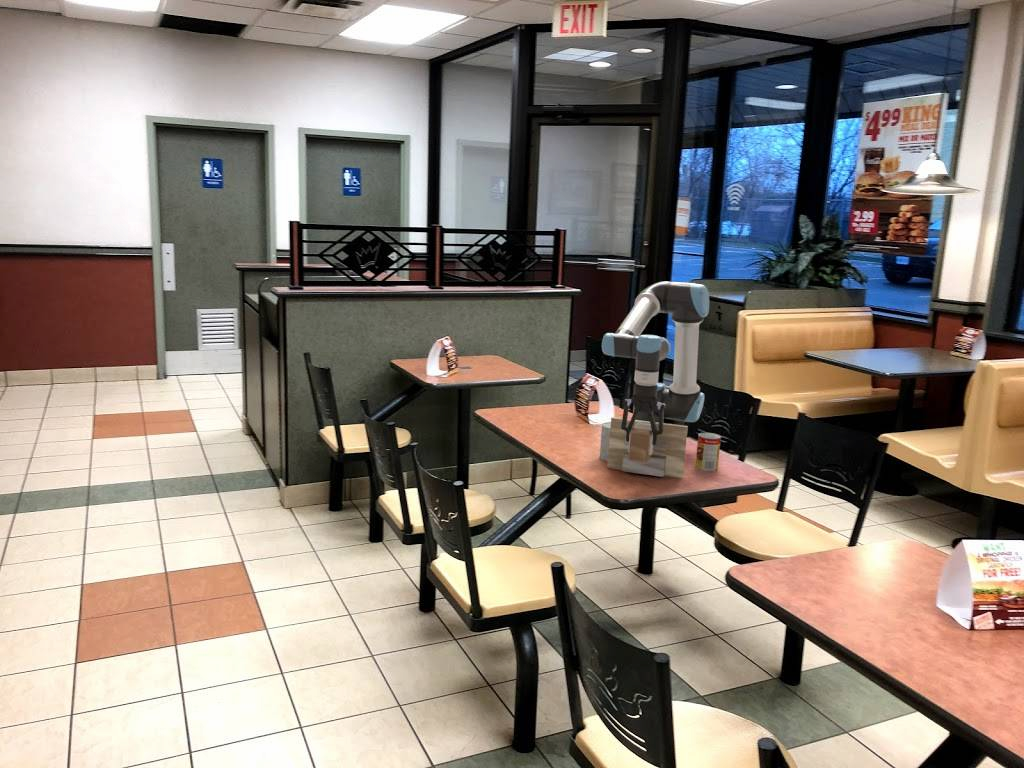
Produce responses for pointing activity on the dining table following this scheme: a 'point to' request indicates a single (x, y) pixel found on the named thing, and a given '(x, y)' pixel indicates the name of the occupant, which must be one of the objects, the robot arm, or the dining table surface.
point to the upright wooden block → (640, 442)
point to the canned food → (708, 451)
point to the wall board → (664, 455)
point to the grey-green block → (605, 441)
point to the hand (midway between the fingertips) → (640, 452)
